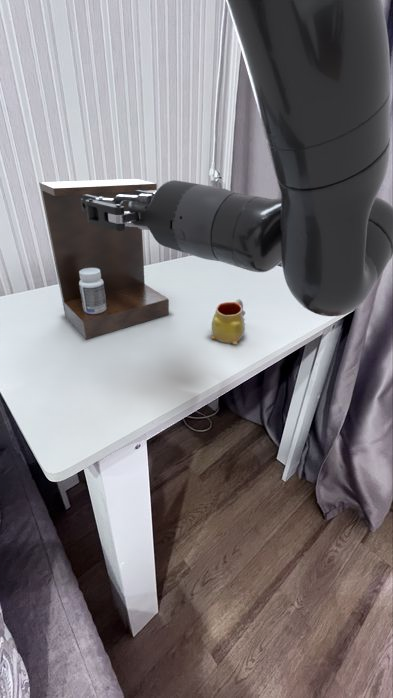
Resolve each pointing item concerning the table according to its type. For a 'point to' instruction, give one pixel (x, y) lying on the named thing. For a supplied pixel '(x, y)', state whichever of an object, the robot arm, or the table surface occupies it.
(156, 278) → the table surface
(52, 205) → the shelf
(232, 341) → the mug
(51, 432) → the table surface
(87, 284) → the pill bottle
